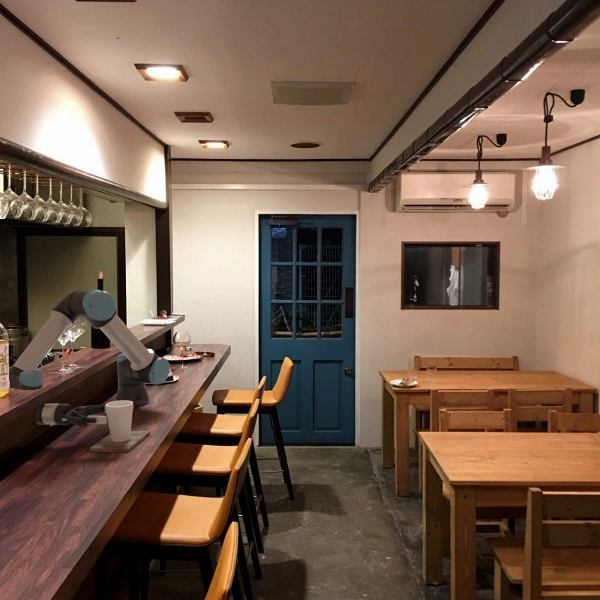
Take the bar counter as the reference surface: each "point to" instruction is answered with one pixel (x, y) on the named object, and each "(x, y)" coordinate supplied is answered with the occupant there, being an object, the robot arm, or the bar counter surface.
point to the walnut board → (120, 443)
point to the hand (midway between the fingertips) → (114, 414)
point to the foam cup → (119, 419)
